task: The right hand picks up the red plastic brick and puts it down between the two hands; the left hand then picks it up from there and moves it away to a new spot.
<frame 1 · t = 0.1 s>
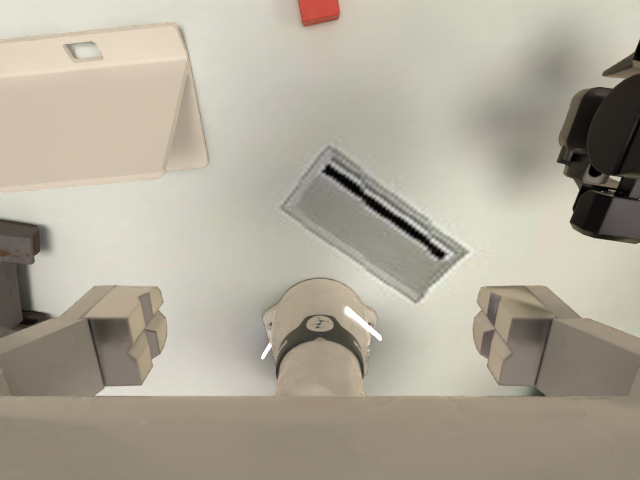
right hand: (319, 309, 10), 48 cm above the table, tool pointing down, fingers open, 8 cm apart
tablet stand: (107, 108, 54), on the table
brick: (317, 2, 49), on the table
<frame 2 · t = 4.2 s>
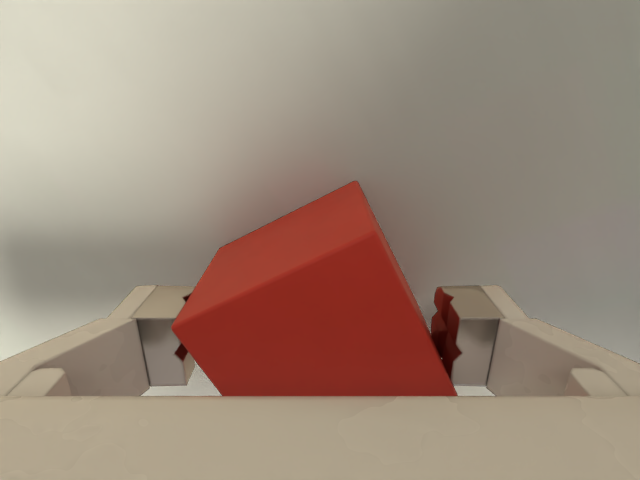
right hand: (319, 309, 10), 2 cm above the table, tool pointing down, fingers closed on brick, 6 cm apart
brick: (320, 276, 12), on the table, touching right hand
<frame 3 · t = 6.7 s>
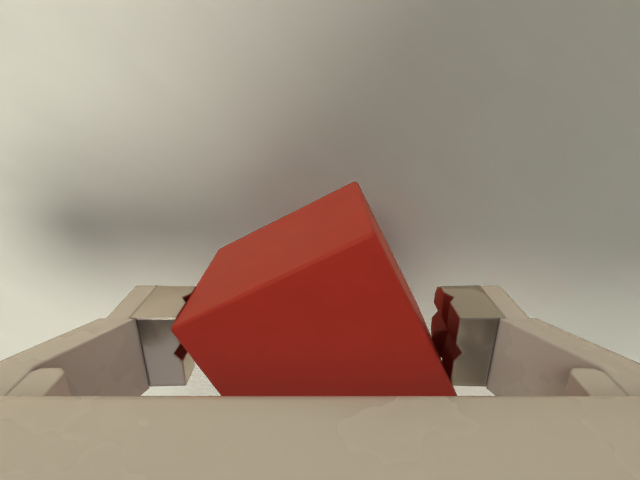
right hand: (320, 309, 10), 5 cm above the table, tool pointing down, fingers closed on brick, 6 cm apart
brick: (320, 277, 12), point 3 cm above the table, touching right hand
when the right hand's fingers open (3 cm above the table, at t = 9.3 s): brick stays where it is, on the table.
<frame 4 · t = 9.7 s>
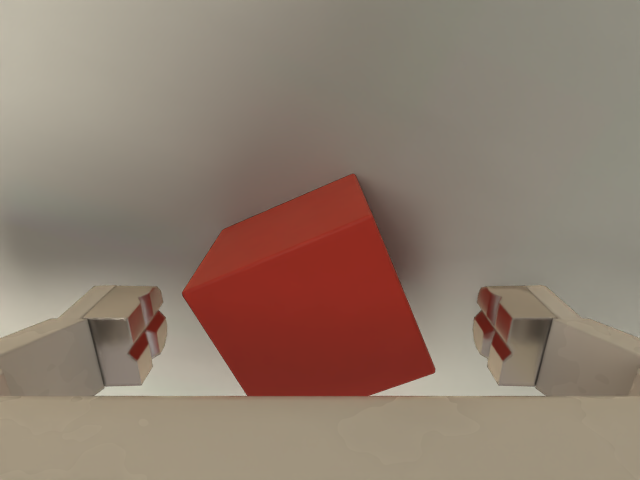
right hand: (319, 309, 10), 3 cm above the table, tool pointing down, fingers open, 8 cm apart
brick: (315, 261, 13), on the table
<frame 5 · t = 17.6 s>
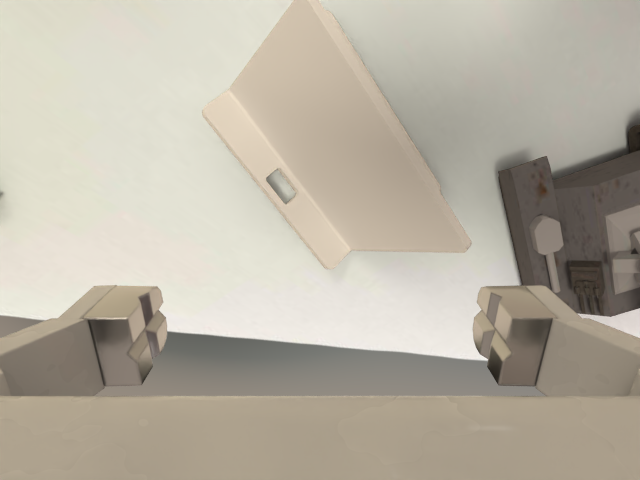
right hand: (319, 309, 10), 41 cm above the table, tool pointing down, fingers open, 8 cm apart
toy: (586, 223, 52), on the table
tablet stand: (327, 150, 49), on the table
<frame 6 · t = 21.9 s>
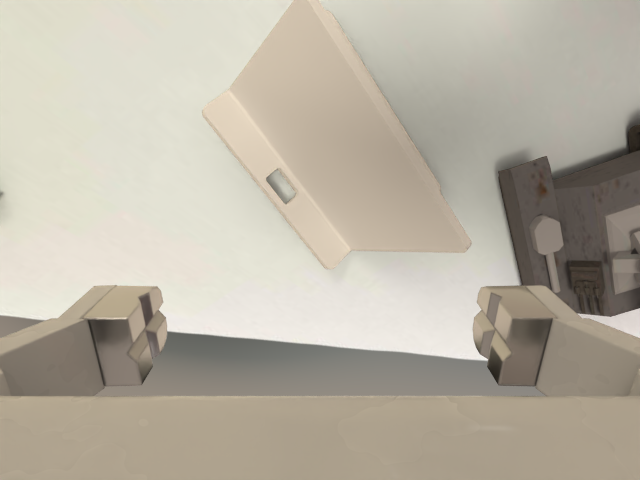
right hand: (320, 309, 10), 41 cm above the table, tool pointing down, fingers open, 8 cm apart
toy: (586, 223, 52), on the table
tablet stand: (327, 150, 49), on the table
when the left hand's fingers open (2 cm above the table, at t = 26.1 s): brick stays where it is, on the table.
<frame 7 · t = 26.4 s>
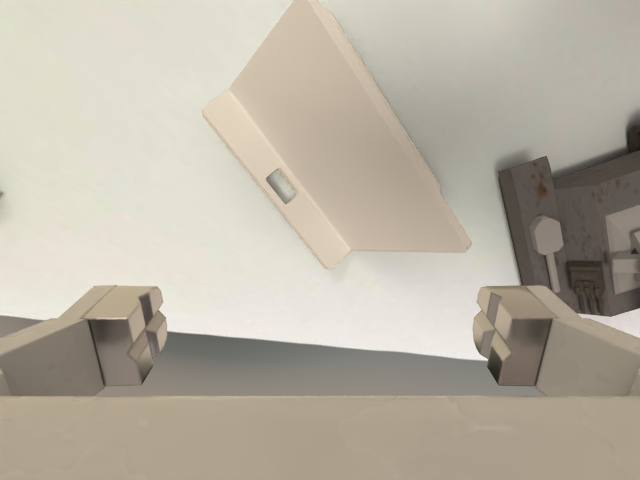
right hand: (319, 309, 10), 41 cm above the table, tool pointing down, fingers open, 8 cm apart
toy: (586, 223, 52), on the table
tablet stand: (327, 150, 49), on the table
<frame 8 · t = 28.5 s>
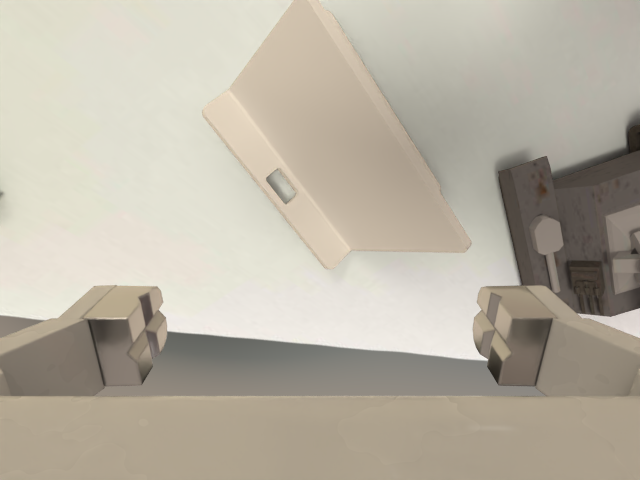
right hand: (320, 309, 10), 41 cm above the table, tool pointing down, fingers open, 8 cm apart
toy: (586, 223, 52), on the table
tablet stand: (327, 150, 49), on the table
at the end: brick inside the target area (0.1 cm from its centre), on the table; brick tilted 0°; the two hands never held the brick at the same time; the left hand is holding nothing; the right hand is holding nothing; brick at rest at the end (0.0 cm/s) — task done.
